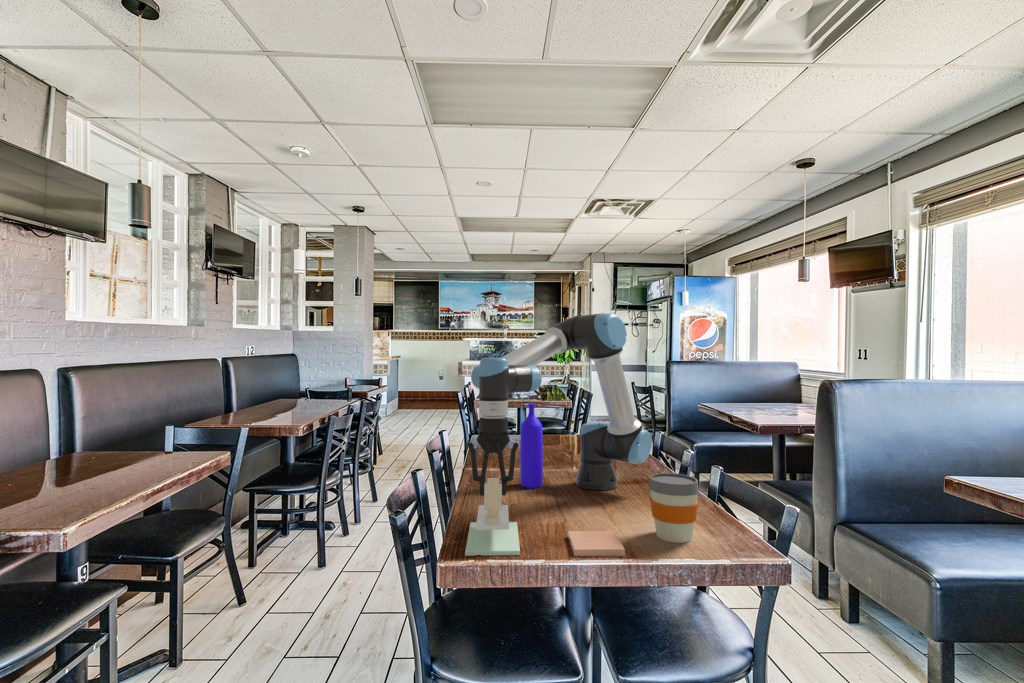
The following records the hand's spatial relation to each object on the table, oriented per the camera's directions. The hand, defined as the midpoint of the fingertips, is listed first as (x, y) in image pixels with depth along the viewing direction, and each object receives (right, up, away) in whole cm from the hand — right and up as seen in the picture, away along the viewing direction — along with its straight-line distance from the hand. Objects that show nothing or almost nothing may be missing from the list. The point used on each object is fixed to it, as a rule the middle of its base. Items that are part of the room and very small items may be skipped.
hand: (493, 507), depth 122 cm
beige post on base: (0, -3, 0) cm, 3 cm away
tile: (+26, -8, +1) cm, 27 cm away
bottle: (+12, -10, +52) cm, 54 cm away
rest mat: (0, -8, 0) cm, 8 cm away
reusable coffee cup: (+48, -8, +2) cm, 48 cm away
